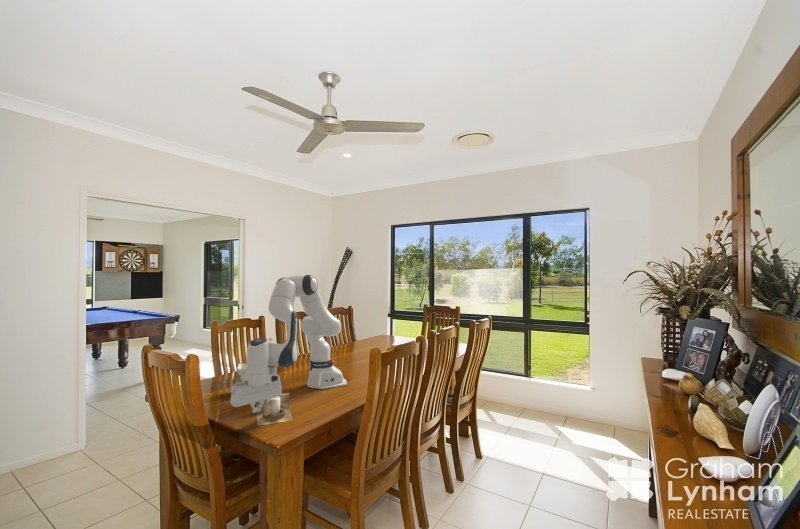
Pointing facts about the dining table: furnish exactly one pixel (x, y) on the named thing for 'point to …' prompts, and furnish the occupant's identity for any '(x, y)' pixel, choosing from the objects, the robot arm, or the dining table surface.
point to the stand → (281, 417)
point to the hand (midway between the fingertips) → (256, 412)
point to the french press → (273, 368)
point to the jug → (272, 406)
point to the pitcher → (241, 372)
